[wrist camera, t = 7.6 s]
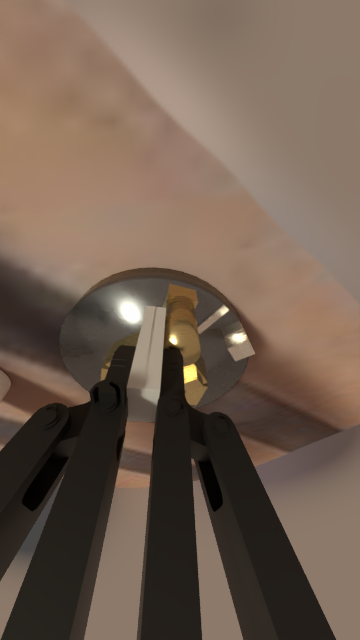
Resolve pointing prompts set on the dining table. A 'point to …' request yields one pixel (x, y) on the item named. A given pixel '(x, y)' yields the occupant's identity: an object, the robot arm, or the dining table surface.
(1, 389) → the candle holder
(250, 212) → the dining table surface
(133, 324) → the bearing cap
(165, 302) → the brass lugged wrench
